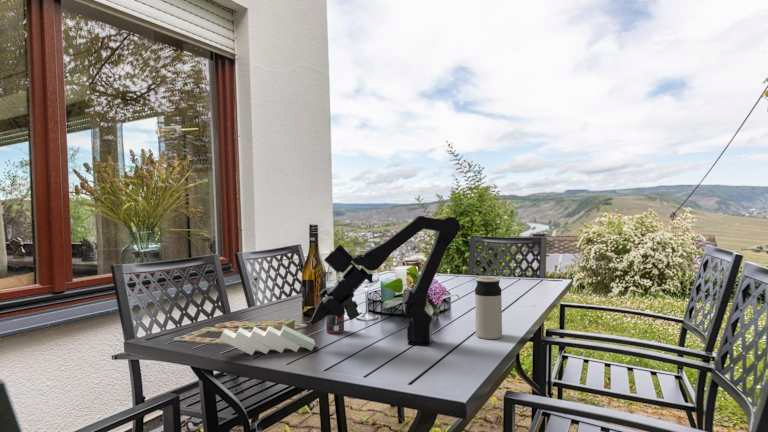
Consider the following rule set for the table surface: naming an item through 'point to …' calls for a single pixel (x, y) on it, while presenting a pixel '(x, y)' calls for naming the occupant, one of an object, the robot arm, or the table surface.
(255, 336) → the domino
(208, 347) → the table surface
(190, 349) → the table surface
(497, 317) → the travel mug
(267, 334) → the domino
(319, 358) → the table surface
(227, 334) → the domino
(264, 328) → the pile of dominoes
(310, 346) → the domino
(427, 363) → the table surface
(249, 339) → the domino
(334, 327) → the supplement bottle
